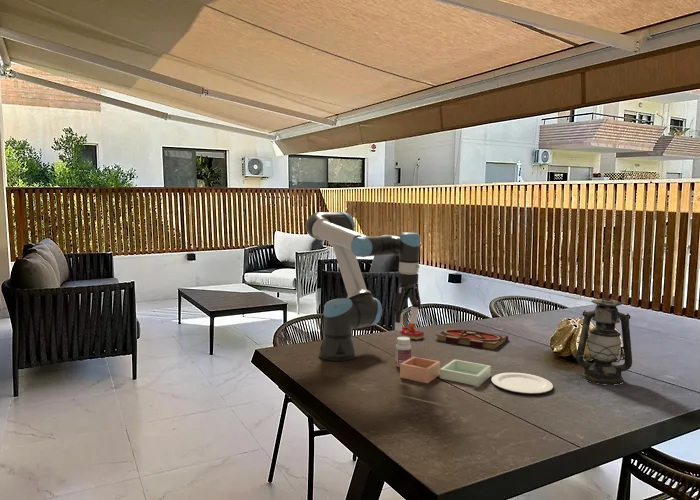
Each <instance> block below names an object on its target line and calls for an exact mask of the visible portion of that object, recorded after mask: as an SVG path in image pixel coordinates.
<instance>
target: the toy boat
mask: <svg viewBox="0 0 700 500" xmlns="http://www.w3.org/2000/svg"><path fill="white" fill-rule="evenodd" d="M415 327H416V324H414V323H410V322H409V323H408V327H407V326H403V325H402V331H399V334H400V337H409V338H410V340H414V339H415V340H416V341H417V340H418V339H419V340H421V339H423V338H424V336H425V333H424V331H422V330H419V329H415ZM415 340H414V341H415Z"/></svg>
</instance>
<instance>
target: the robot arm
mask: <svg viewBox="0 0 700 500" xmlns="http://www.w3.org/2000/svg"><path fill="white" fill-rule="evenodd" d="M355 224H356V223H355V219H354V218H353V217H352V216H351V215H350V214H349V213H348V212H345V211H344V212H342V211H333V212H332V211H331V212H330V211H318V212H315V213H312V214H311V215H310V216H309V217H308V218H307V219H306V222H305V231H306V233H307V234H308V235H309V236H310V237H311V238H312V239H315V240H318V241H323V240H324V241H327V244H328V245H329V246H331V247H333V252H334V254H335V257H336V258H335V259H336V261H337V264H338V268H339V271H340V274H341V277H342V281H343V283H344V288H345V290H346V293H347V297H346V298H345V297H342V298H341V297H340V298H339V297H338V298H333V299H331V300H328V301H326V302H325V304H324V305H323V338H322V342H321V345H320V347H319V351H318V352H319V355H318V356H319V357H320V358H321V359H322V360H327V361H332V362H333V361H334V362H342V361H344V362H345V361H349V360H352V359H355V357H356V348H355V345H354V342H353V337H352V336H353V335H352V333H353V332H352V331H353V330H354V329H355V330H356V329H361V328H366V327H367V328H368V327H371V326H375V325H377V324H378V323H379V322H380V321H381V318H382V315H383V308H382V303H381V302H380V300H379V299H377V298H376V297H374V296H373V294H372V292H371V291H370V290H368V289H367V286H366V283H365V280H364V276H363V274H362V271H361V268H360V265H359V261H358V258H357V257H361V258H366V257H375V256H376V257H378V256H389V255H391V256H392V255H393V256H398V257H399V260H398V262H399V263H398V281H397V282H398V283H399V284H401V287H400V286H399V287H398V286H397V290H396V295H395V299H394V303H393V309H392V313H393V314H395V316H394V319H395V320H394V331H398V332H400V331H402V327H403V321H404V320H403V310H404V309H405V305H406V302H407V301H408V300H409V301H410V303H411V307H410V318H409V320H410V322H409V323H414V324H415V325H417V324H418V312H419V308H421V306H422V305H421V304H422V303H421V296H420V290H419V268H420V251H421V249H420V247H421V239H420V238H421V236H420V234H419V233H417V232H409V231H408V232H406V231H404V232H401V233H400V236H397V235H392V234H383V235H377V236H368V235H365V234H362V233H360V232H358V231H355V228H356V225H355Z"/></svg>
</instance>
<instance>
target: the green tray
mask: <svg viewBox="0 0 700 500" xmlns="http://www.w3.org/2000/svg"><path fill="white" fill-rule="evenodd" d="M491 370H492V367H491V365H488V364H483V363H477V362H471V361H467V360H466V361H465V360H461V359H456V358H455V359H452V360H451V361H450V362H448V363H446V364H445V365H443V366H442V367H440V375H439V379H442V380H446V381H451V382H457V383H462V384H466V385H471V386H473V388H477V389H478V388H479V387H481V385H482V384H483V383H485V382H486V381H487V380H488V379H489V378H491V374H492V372H491Z"/></svg>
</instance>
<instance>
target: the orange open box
mask: <svg viewBox="0 0 700 500" xmlns="http://www.w3.org/2000/svg"><path fill="white" fill-rule="evenodd" d="M440 369H441V361H440V360H435V359H428V358H423V357H418V356H411V358H410V359H408V360H406V361H404V362H403V363H401V364H400V367H399V378H401V379H406V380H410V381H415V382H420V383H423V384H424V383H425V384H429V383H431V382H432V381H434V379H436V378H437V377H440Z"/></svg>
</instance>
